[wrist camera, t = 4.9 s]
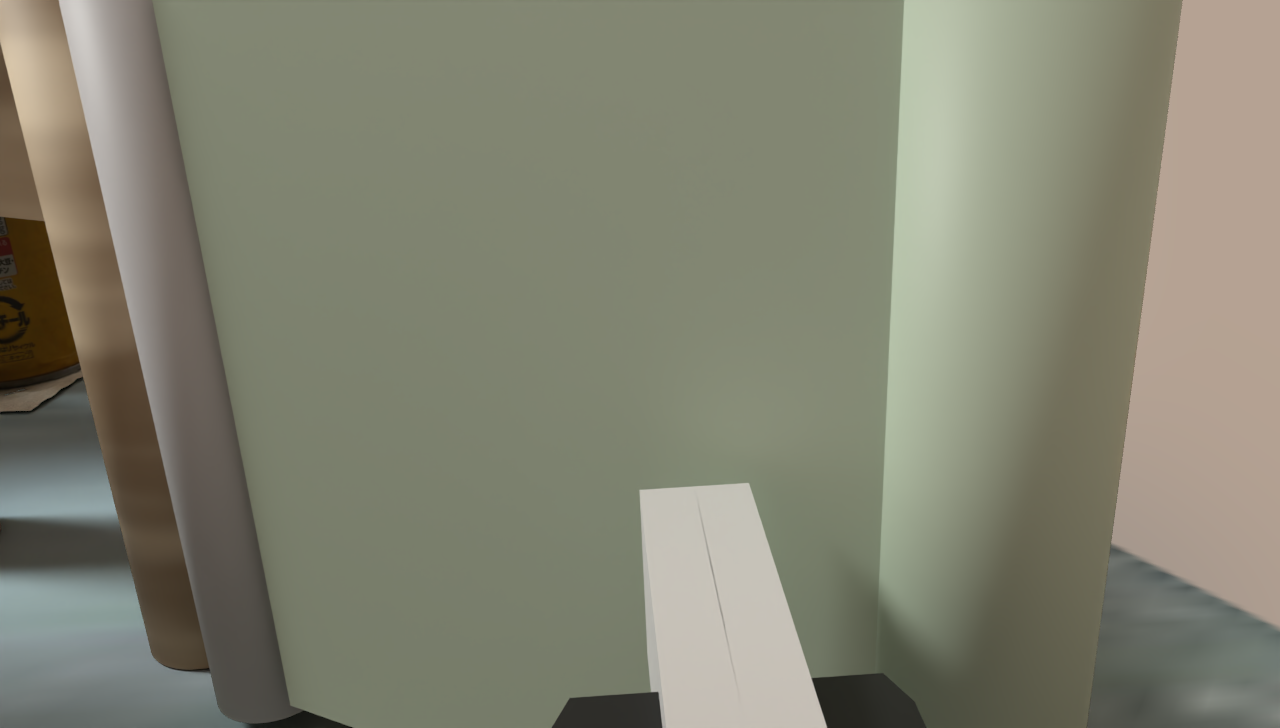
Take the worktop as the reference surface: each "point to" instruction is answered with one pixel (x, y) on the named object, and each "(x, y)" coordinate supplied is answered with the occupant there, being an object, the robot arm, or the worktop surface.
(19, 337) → the condiment
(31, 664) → the worktop surface
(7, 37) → the stool
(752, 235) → the pale green flat panel
